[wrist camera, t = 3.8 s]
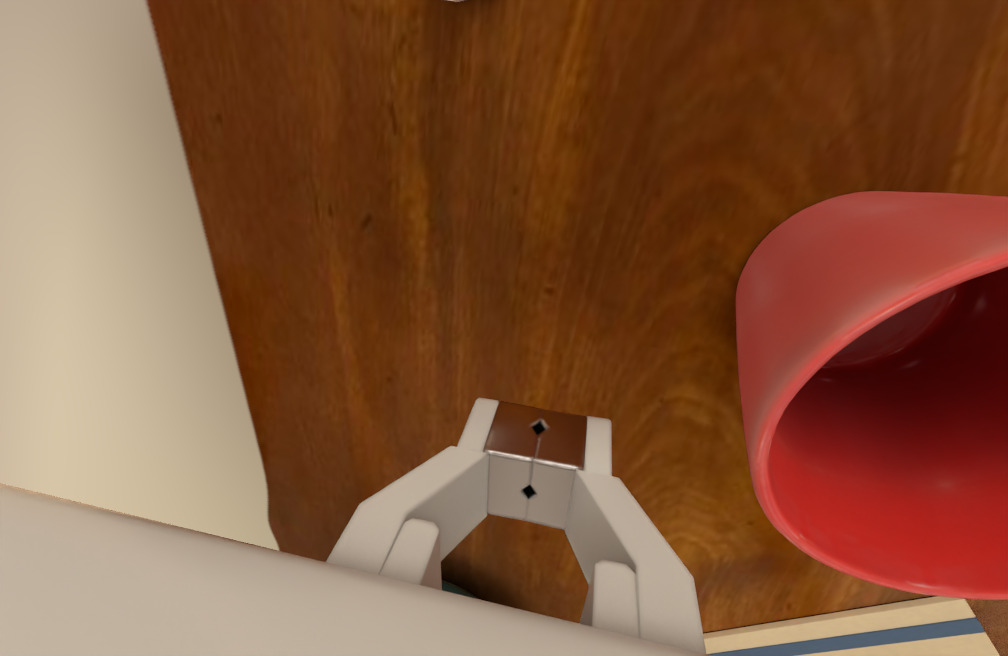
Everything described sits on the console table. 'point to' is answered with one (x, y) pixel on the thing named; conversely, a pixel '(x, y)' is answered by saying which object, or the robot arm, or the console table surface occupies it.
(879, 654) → the cloth
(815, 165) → the console table surface
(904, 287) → the flower pot
